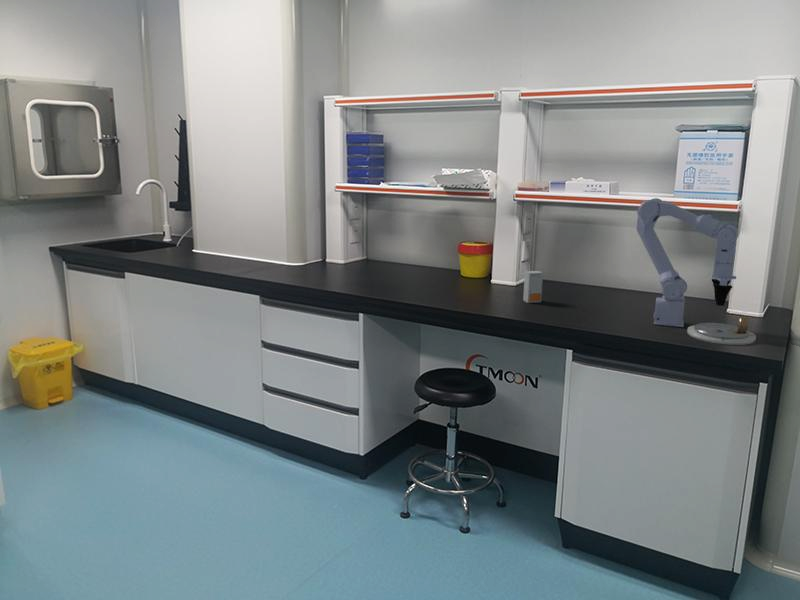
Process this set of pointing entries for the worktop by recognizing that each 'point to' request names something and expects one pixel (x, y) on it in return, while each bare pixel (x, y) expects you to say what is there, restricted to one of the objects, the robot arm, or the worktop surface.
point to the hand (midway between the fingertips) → (719, 302)
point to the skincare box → (533, 286)
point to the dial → (724, 329)
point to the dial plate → (741, 341)
